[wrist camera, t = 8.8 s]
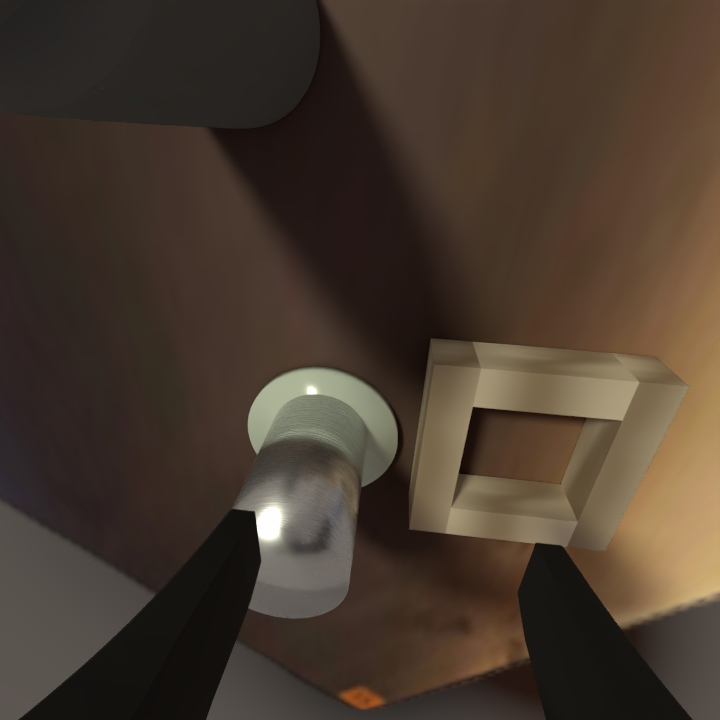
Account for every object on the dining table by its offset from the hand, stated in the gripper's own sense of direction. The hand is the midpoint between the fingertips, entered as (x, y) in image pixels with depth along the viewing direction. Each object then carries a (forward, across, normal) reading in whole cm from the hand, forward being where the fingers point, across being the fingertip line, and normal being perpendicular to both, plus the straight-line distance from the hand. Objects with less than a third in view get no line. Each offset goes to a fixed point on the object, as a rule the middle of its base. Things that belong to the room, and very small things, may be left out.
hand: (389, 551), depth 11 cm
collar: (+10, -6, +4) cm, 13 cm away
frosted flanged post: (+10, +4, +4) cm, 11 cm away
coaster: (+10, +4, +4) cm, 12 cm away
